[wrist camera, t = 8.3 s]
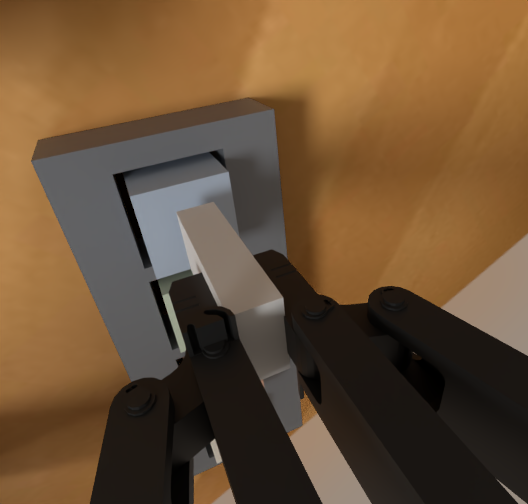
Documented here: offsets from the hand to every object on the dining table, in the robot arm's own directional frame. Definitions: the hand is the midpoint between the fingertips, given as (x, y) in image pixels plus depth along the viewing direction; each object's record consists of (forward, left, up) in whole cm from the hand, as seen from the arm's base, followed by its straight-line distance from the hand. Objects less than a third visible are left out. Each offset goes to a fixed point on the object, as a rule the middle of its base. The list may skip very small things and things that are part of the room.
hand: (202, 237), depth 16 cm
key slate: (0, 0, -5) cm, 5 cm away
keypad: (0, -8, -6) cm, 10 cm away
